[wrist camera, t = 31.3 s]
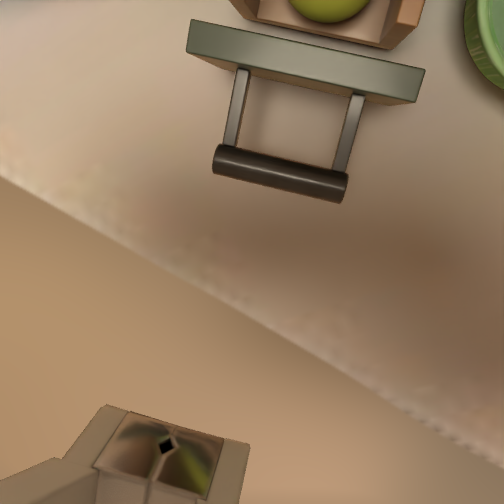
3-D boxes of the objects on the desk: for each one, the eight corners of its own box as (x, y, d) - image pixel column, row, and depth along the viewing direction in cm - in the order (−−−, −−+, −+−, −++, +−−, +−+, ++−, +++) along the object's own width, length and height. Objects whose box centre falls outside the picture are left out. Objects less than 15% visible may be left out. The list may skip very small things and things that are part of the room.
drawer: (364, 195, 25) (378, 223, 19) (204, 158, 26) (166, 172, 19) (466, -153, 20) (532, -276, 14) (268, -188, 21) (243, -322, 15)
